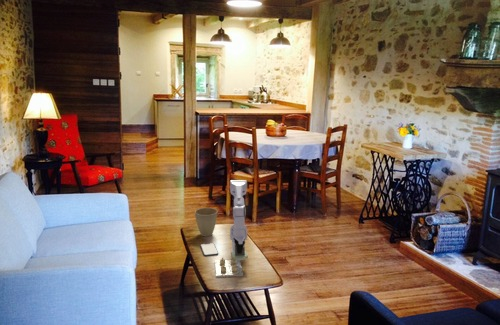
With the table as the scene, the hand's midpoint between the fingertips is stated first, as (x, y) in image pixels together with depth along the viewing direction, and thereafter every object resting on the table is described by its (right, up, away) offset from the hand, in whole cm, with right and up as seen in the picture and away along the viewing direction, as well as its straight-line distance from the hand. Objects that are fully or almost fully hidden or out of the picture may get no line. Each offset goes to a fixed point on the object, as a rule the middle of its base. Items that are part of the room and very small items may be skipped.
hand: (239, 251), depth 226 cm
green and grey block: (0, -3, +1) cm, 3 cm away
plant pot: (-23, +1, +50) cm, 55 cm away
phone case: (-19, -5, +24) cm, 31 cm away
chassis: (-6, -10, 0) cm, 11 cm away
